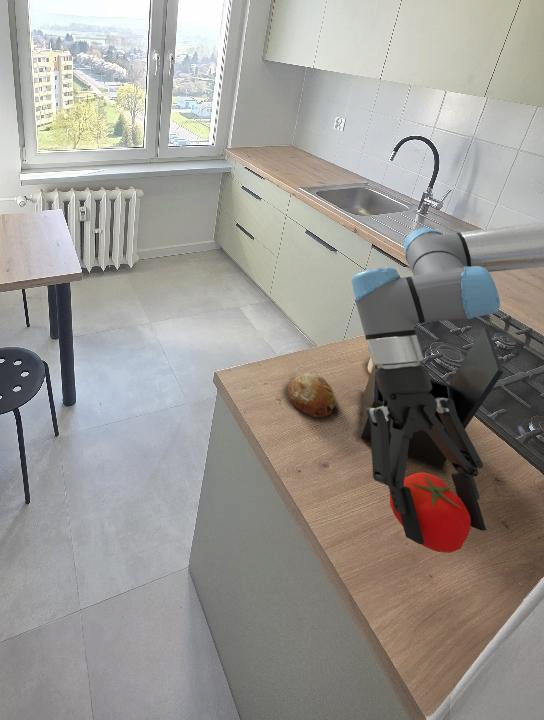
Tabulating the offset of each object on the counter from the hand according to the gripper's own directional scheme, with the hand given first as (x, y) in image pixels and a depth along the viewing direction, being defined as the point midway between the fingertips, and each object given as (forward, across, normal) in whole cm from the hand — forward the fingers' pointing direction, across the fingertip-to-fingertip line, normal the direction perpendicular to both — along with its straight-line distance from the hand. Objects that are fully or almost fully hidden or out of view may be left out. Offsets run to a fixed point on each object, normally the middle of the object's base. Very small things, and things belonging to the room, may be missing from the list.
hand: (446, 533), depth 59 cm
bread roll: (-15, -1, -34) cm, 38 cm away
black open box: (-8, -16, -27) cm, 33 cm away
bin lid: (-18, -22, -10) cm, 31 cm away
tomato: (+1, 0, -5) cm, 5 cm away
